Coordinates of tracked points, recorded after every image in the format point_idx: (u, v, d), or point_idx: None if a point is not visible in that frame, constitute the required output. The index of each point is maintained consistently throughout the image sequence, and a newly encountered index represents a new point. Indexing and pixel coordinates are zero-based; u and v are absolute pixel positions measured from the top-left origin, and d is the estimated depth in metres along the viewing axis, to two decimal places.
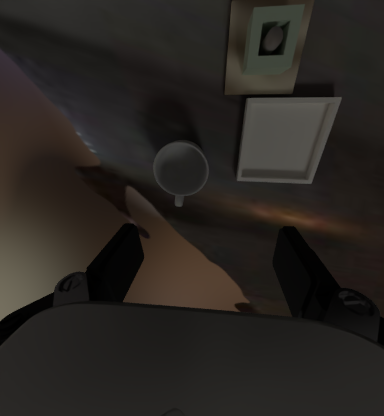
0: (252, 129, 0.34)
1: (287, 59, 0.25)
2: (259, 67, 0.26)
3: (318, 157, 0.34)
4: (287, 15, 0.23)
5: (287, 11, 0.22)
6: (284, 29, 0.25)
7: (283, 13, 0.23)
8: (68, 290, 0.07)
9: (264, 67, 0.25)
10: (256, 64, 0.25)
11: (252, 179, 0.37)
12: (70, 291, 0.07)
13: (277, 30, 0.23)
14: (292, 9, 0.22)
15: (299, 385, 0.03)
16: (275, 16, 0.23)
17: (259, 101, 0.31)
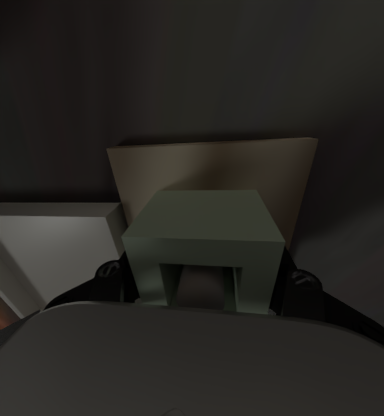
0: (64, 225, 0.14)
1: None
2: (133, 268, 0.08)
3: None
4: (247, 312, 0.08)
5: (254, 312, 0.08)
6: (229, 282, 0.11)
7: (251, 306, 0.08)
8: (106, 276, 0.08)
9: (136, 278, 0.08)
10: (137, 261, 0.08)
11: None
12: (107, 277, 0.08)
13: (215, 306, 0.08)
14: None
15: (299, 385, 0.03)
16: (249, 292, 0.08)
17: (106, 241, 0.13)
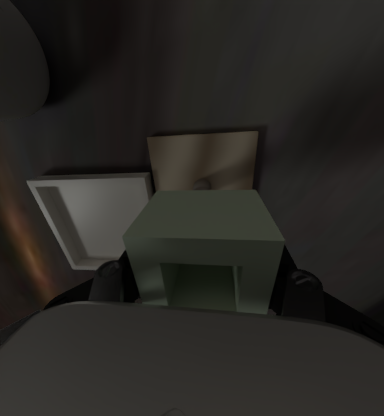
0: (112, 188, 0.23)
1: None
2: (134, 267, 0.08)
3: None
4: (246, 311, 0.08)
5: (254, 311, 0.08)
6: (228, 281, 0.11)
7: (251, 305, 0.08)
8: (106, 276, 0.08)
9: None
10: (138, 261, 0.08)
11: (41, 204, 0.23)
12: (107, 278, 0.08)
13: None
14: None
15: (299, 385, 0.03)
16: (249, 291, 0.08)
17: (143, 194, 0.21)
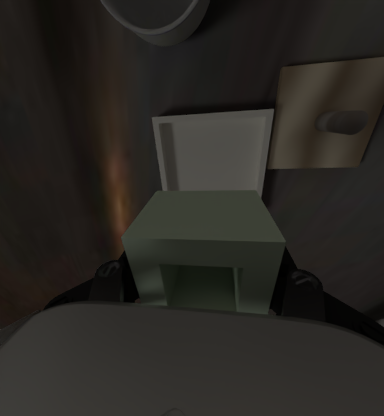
0: (228, 127, 0.24)
1: None
2: (133, 268, 0.08)
3: None
4: (247, 312, 0.08)
5: None
6: (229, 282, 0.11)
7: (252, 306, 0.08)
8: (106, 276, 0.08)
9: (136, 279, 0.08)
10: (137, 262, 0.08)
11: (158, 143, 0.24)
12: (107, 278, 0.08)
13: (361, 125, 0.17)
14: None
15: (299, 385, 0.03)
16: (249, 292, 0.08)
17: (266, 127, 0.22)
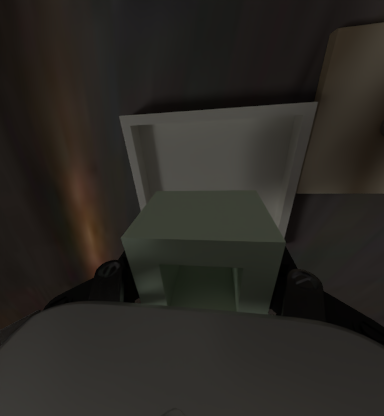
0: (238, 131, 0.15)
1: None
2: (133, 269, 0.08)
3: None
4: None
5: None
6: (229, 282, 0.11)
7: (252, 307, 0.08)
8: (106, 276, 0.08)
9: (136, 279, 0.08)
10: (137, 262, 0.08)
11: (132, 155, 0.16)
12: (107, 277, 0.08)
13: None
14: None
15: (299, 385, 0.03)
16: (249, 293, 0.08)
17: (302, 133, 0.13)
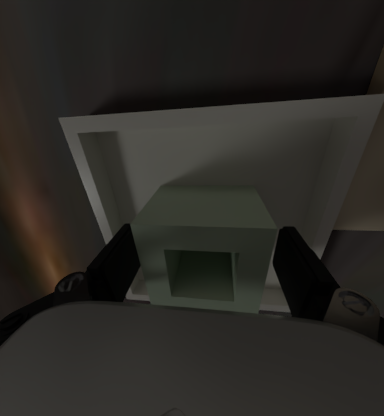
0: (245, 142, 0.10)
1: (164, 302, 0.10)
2: (140, 254, 0.09)
3: None
4: (243, 296, 0.09)
5: (250, 296, 0.09)
6: (227, 271, 0.11)
7: (247, 290, 0.09)
8: (68, 290, 0.07)
9: None
10: (144, 248, 0.08)
11: (86, 176, 0.11)
12: (70, 291, 0.07)
13: None
14: (252, 302, 0.09)
15: (299, 385, 0.03)
16: (245, 277, 0.08)
17: (353, 146, 0.08)
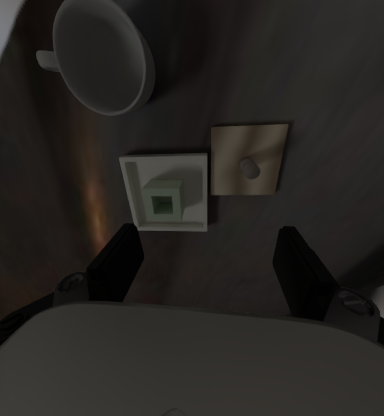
0: (178, 164, 0.31)
1: (151, 217, 0.31)
2: (144, 198, 0.30)
3: (160, 229, 0.37)
4: (175, 212, 0.30)
5: (177, 211, 0.30)
6: None
7: (176, 209, 0.30)
8: (68, 290, 0.07)
9: (144, 202, 0.30)
10: (145, 195, 0.29)
11: (125, 175, 0.32)
12: (70, 291, 0.07)
13: (257, 173, 0.25)
14: (178, 214, 0.31)
15: (299, 385, 0.03)
16: (174, 204, 0.30)
17: (204, 167, 0.30)
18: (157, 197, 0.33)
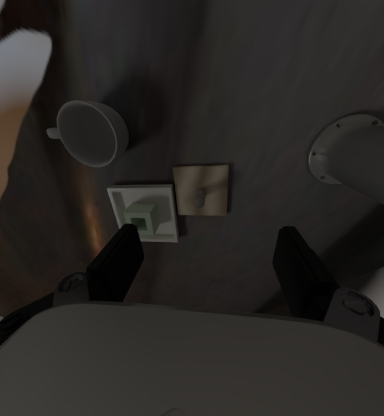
0: (151, 192, 0.41)
1: None
2: (125, 219, 0.40)
3: (141, 239, 0.47)
4: (149, 229, 0.40)
5: (150, 229, 0.40)
6: None
7: (149, 227, 0.40)
8: (68, 290, 0.07)
9: (126, 221, 0.40)
10: (126, 217, 0.39)
11: (112, 200, 0.42)
12: (70, 291, 0.07)
13: (202, 204, 0.34)
14: (151, 231, 0.40)
15: (299, 385, 0.03)
16: (147, 223, 0.40)
17: (169, 196, 0.39)
18: None
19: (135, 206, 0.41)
